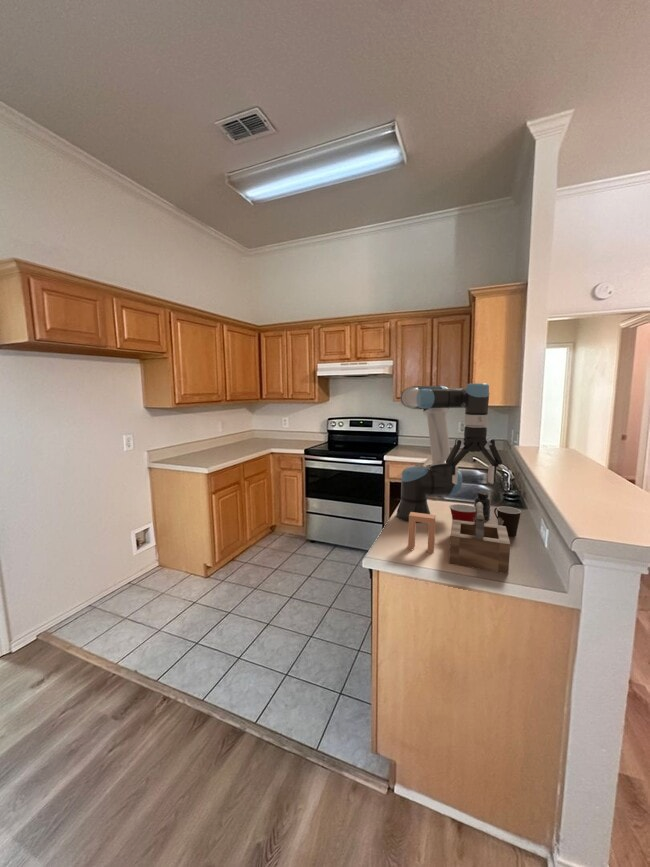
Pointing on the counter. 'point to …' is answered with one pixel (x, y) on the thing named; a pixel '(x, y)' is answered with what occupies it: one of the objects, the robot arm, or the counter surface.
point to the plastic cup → (462, 512)
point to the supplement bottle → (483, 503)
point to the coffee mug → (508, 519)
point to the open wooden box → (479, 544)
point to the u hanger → (412, 529)
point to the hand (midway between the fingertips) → (472, 483)
